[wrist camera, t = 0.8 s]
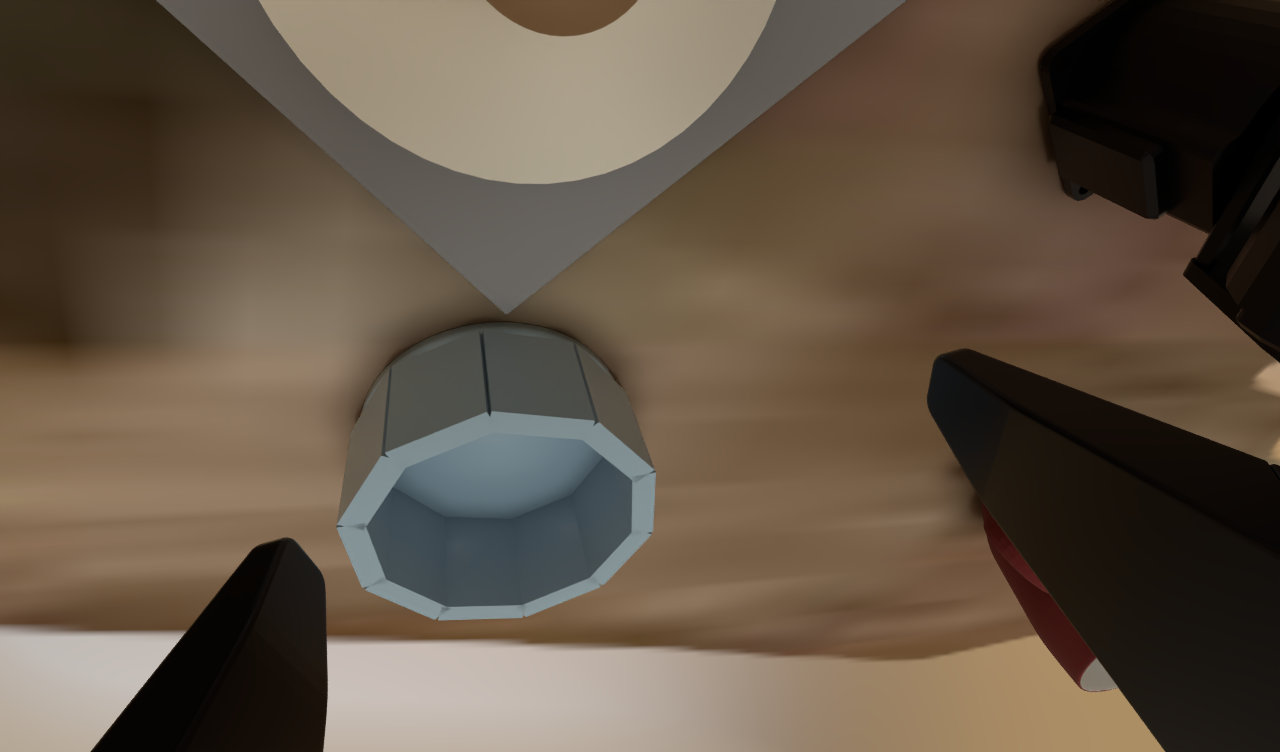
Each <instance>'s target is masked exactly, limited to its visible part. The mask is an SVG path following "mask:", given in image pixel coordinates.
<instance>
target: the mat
mask: <svg viewBox="0 0 1280 752" xmlns="http://www.w3.org/2000/svg"><path fill="white" fill-rule="evenodd" d="M156 1H157V2H159V3H160V4H161V5H162V6H163V7H164V8H165V9H166V10H167V11H169V12H170V13H171V14H172V15H173V16H174V17H175V18H176V19H178V20H179V21H180V22H181V23H182V24H183V25H184V26H185V27H186V28H188V29H189V30H190V31H191V32H192V33H193V34H194V35H195V36H196V37H198V38H199V39H200V40H201V41H202V42H203V43H204V44H205V45H206V46H208V47H209V48H210V49H211V50H212V51H213V52H214V53H215V54H216V55H218V56H219V57H220V58H221V59H222V60H223V61H224V62H225V63H226V64H228V65H229V66H230V67H231V68H232V69H233V70H234V71H235V72H237V73H238V74H239V75H240V76H241V77H242V78H243V79H244V80H245V81H247V82H248V83H249V84H250V85H251V86H252V87H253V88H254V89H255V90H257V91H258V92H259V93H260V94H261V95H262V96H263V97H264V98H265V99H267V100H268V101H269V102H270V103H271V104H272V105H273V106H274V107H275V108H277V109H278V110H279V111H280V112H281V113H282V114H283V115H284V116H285V117H287V118H288V119H289V120H290V121H291V122H292V123H293V124H294V125H295V126H297V127H298V128H299V129H300V130H301V131H302V132H303V133H304V134H306V135H307V136H308V137H309V138H310V139H311V140H312V141H313V142H314V143H316V144H317V145H318V146H319V147H320V148H321V149H322V150H323V151H324V152H326V153H327V154H328V155H329V156H330V157H331V158H332V159H333V160H334V161H336V162H337V163H338V164H339V165H340V166H341V167H342V168H343V169H344V170H346V171H347V172H348V173H349V174H350V175H351V176H352V177H353V178H354V179H356V180H357V181H358V182H359V183H360V184H361V185H362V186H363V187H365V188H366V189H367V190H368V191H369V192H370V193H371V194H372V195H373V196H375V197H376V198H377V199H378V200H379V201H380V202H381V203H382V204H383V205H385V206H386V207H387V208H388V209H389V210H390V211H391V212H392V213H393V214H395V215H396V216H397V217H398V218H399V219H400V220H401V221H402V222H403V223H405V224H406V225H407V226H408V227H409V228H410V229H411V230H412V231H413V232H415V233H416V234H417V235H418V236H419V237H420V238H421V239H422V240H424V241H425V242H426V243H427V244H428V245H429V246H430V247H431V248H432V249H434V250H435V251H436V252H437V253H438V254H439V255H440V256H441V257H442V258H444V259H445V260H446V261H447V262H448V263H449V264H450V265H451V266H452V267H454V268H455V269H456V270H457V271H458V272H459V273H460V274H461V275H462V276H464V277H465V278H466V279H467V280H468V281H469V282H470V283H471V284H472V285H474V286H475V287H476V288H477V289H478V290H479V291H480V292H481V293H483V294H484V295H485V296H486V297H487V298H488V299H489V300H490V301H491V302H493V303H494V304H495V305H496V306H497V307H498V308H499V309H500V310H501V311H503V312H504V313H505V314H506V315H507V314H508V313H509V312H511V311H512V310H513V309H515V308H516V307H517V306H518V305H520V304H521V303H522V302H523V301H525V300H526V299H527V298H529V297H530V296H531V295H532V294H534V293H535V292H536V291H537V290H539V289H540V288H541V287H543V286H544V285H545V284H546V283H548V282H549V281H550V280H551V279H553V278H554V277H555V276H557V275H558V274H559V273H560V272H562V271H563V270H564V269H565V268H567V267H568V266H569V265H570V264H572V263H573V262H574V261H576V260H577V259H578V258H579V257H581V256H582V255H583V254H584V253H586V252H587V251H588V250H590V249H591V248H592V247H593V246H595V245H596V244H597V243H598V242H600V241H601V240H602V239H604V238H605V237H606V236H607V235H609V234H610V233H611V232H612V231H614V230H615V229H616V228H618V227H619V226H620V225H621V224H623V223H624V222H625V221H626V220H628V219H629V218H630V217H632V216H633V215H634V214H635V213H637V212H638V211H639V210H640V209H642V208H643V207H644V206H646V205H647V204H648V203H649V202H651V201H652V200H653V199H654V198H656V197H657V196H658V195H660V194H661V193H662V192H663V191H665V190H666V189H667V188H668V187H670V186H671V185H672V184H674V183H675V182H676V181H677V180H679V179H680V178H681V177H682V176H684V175H685V174H686V173H688V172H689V171H690V170H691V169H693V168H694V167H695V166H696V165H698V164H699V163H700V162H701V161H703V160H704V159H705V158H707V157H708V156H709V155H710V154H712V153H713V152H714V151H715V150H717V149H718V148H719V147H721V146H722V145H723V144H724V143H726V142H727V141H728V140H729V139H731V138H732V137H733V136H735V135H736V134H737V133H738V132H740V131H741V130H742V129H743V128H745V127H746V126H747V125H749V124H750V123H751V122H752V121H754V120H755V119H756V118H757V117H759V116H760V115H761V114H763V113H764V112H765V111H766V110H768V109H769V108H770V107H771V106H773V105H774V104H775V103H777V102H778V101H779V100H780V99H782V98H783V97H784V96H785V95H787V94H788V93H789V92H791V91H792V90H793V89H794V88H796V87H797V86H798V85H799V84H801V83H802V82H803V81H805V80H806V79H807V78H808V77H810V76H811V75H812V74H813V73H815V72H816V71H817V70H818V69H820V68H821V67H822V66H824V65H825V64H826V63H827V62H829V61H830V60H831V59H832V58H834V57H835V56H836V55H838V54H839V53H840V52H841V51H843V50H844V49H845V48H846V47H848V46H849V45H850V44H852V43H853V42H854V41H855V40H857V39H858V38H859V37H860V36H862V35H863V34H864V33H866V32H867V31H868V30H869V29H871V28H872V27H873V26H874V25H876V24H877V23H878V22H880V21H881V20H882V19H883V18H885V17H886V16H887V15H888V14H890V13H891V12H892V11H894V10H895V9H896V8H897V7H899V6H900V5H901V4H902V3H904V2H905V1H906V0H776V2H775V4H774V7H773V9H772V11H771V14H770V16H769V18H768V21H767V23H766V26H765V27H764V29H763V31H762V33H761V35H760V37H759V38H758V40H757V42H756V44H755V46H754V47H753V49H752V51H751V53H750V55H749V57H748V58H747V60H746V61H745V62H744V64H743V65H742V67H741V68H740V70H739V71H738V72H737V74H736V75H735V77H734V78H733V80H732V81H731V83H730V84H729V85H728V87H727V88H726V89H725V90H724V91H723V92H722V93H721V95H720V96H719V97H718V98H717V99H716V100H715V101H714V102H713V104H712V105H711V106H710V107H709V108H708V109H707V110H706V111H705V112H704V113H703V114H702V115H701V116H700V117H699V118H698V119H696V120H695V121H694V122H693V123H692V124H691V125H690V126H689V127H688V128H686V129H685V130H684V131H683V132H682V133H680V134H679V135H677V136H676V137H675V138H673V139H672V140H670V141H669V142H668V143H666V144H665V145H663V146H662V147H661V148H659V149H657V150H656V151H654V152H652V153H650V154H648V155H646V156H644V157H643V158H641V159H639V160H637V161H635V162H633V163H631V164H628V165H626V166H623V167H621V168H618V169H616V170H613V171H610V172H608V173H605V174H601V175H597V176H593V177H589V178H585V179H581V180H577V181H569V182H560V183H552V184H516V183H509V182H502V181H494V180H487V179H483V178H479V177H475V176H472V175H468V174H464V173H460V172H457V171H454V170H451V169H449V168H446V167H444V166H441V165H439V164H436V163H434V162H431V161H428V160H426V159H423V158H422V157H420V156H418V155H416V154H414V153H412V152H411V151H409V150H407V149H405V148H403V147H401V146H399V145H398V144H396V143H394V142H392V141H391V140H389V139H388V138H386V137H385V136H383V135H382V134H381V133H379V132H378V131H376V130H375V129H373V128H372V127H370V126H369V125H368V124H366V123H365V122H363V121H362V120H360V119H359V118H358V117H357V116H356V115H355V114H354V113H352V112H351V111H350V110H349V109H348V108H347V107H346V106H344V105H343V104H342V103H341V102H340V101H339V100H338V99H336V98H335V97H334V96H333V95H332V94H331V93H330V92H329V91H328V90H327V89H326V88H325V87H324V86H323V85H322V84H321V83H320V82H319V80H318V79H317V78H316V77H315V76H314V75H313V74H312V73H311V72H310V71H309V70H308V69H307V68H306V66H305V65H304V64H303V63H302V62H301V61H300V60H299V58H298V57H297V56H296V54H295V53H294V52H293V50H292V49H291V48H290V46H289V45H288V44H287V42H286V41H285V40H284V38H283V37H282V36H281V34H280V33H279V32H278V30H277V29H276V28H275V26H274V25H273V23H272V22H271V20H270V18H269V17H268V15H267V13H266V12H265V10H264V8H263V7H262V5H261V3H260V2H259V0H156Z"/></svg>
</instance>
